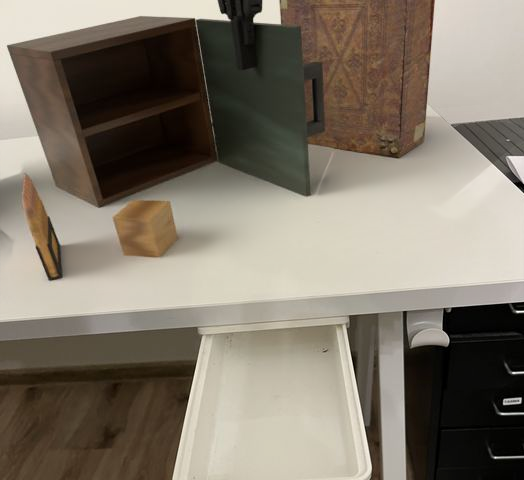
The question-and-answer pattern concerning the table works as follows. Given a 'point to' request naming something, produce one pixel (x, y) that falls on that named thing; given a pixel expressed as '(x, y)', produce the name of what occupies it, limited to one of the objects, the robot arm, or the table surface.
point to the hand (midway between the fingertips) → (247, 67)
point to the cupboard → (118, 105)
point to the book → (367, 70)
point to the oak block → (146, 228)
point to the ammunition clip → (42, 230)
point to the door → (262, 102)
